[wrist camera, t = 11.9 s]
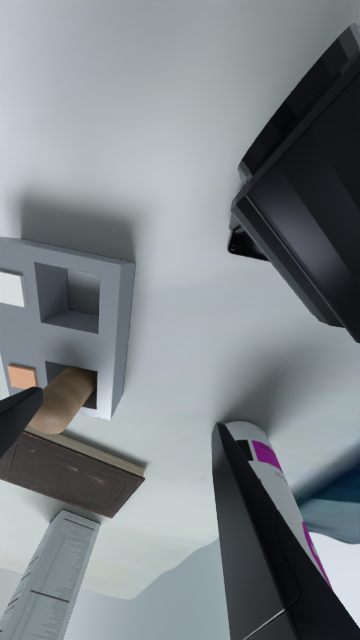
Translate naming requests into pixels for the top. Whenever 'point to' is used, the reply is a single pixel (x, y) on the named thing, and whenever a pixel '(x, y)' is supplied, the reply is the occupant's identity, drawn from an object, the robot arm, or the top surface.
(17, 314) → the socket block
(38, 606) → the supplement box
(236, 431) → the supplement can
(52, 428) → the walnut peg
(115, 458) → the hardcover book
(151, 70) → the top surface
